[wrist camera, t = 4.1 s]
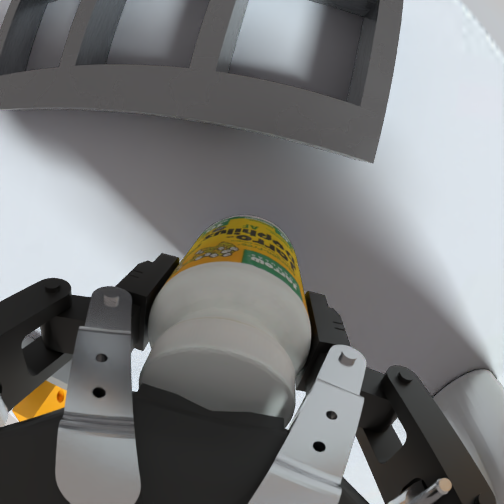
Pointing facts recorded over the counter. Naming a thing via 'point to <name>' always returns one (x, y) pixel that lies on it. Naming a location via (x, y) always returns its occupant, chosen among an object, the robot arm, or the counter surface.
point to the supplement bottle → (232, 322)
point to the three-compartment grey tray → (204, 77)
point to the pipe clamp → (40, 401)
